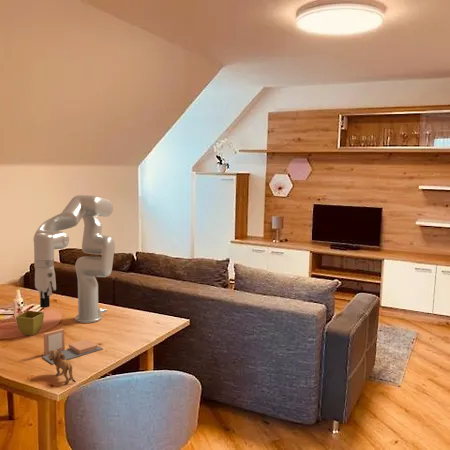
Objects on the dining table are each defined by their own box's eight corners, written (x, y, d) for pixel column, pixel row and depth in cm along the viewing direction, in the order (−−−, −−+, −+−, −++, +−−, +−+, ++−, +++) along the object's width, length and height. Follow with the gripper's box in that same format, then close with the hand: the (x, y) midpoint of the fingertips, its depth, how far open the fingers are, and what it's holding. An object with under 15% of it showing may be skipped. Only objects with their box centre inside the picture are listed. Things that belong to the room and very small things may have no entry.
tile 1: (62, 349, 194) (62, 328, 193) (64, 350, 193) (64, 329, 191) (44, 354, 188) (43, 333, 187) (46, 355, 187) (45, 334, 186)
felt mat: (91, 343, 201) (91, 342, 201) (102, 349, 195) (102, 348, 195) (41, 357, 185) (41, 356, 185) (52, 364, 179) (52, 363, 179)
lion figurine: (46, 373, 172) (46, 350, 170) (59, 368, 176) (59, 346, 174) (69, 386, 162) (68, 361, 161) (82, 380, 167) (82, 357, 165)
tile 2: (86, 339, 200) (97, 345, 193) (86, 343, 200) (97, 349, 194) (68, 344, 194) (79, 350, 188) (68, 348, 194) (79, 354, 188)
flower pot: (33, 337, 205) (32, 318, 204) (15, 336, 207) (15, 316, 206) (45, 331, 214) (44, 312, 212) (28, 329, 215) (27, 310, 214)
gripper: (61, 265, 188) (62, 309, 190) (44, 259, 198) (45, 301, 200) (43, 267, 182) (44, 313, 184) (27, 261, 193) (28, 304, 195)
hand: (44, 306), depth 192 cm, fingers closed
